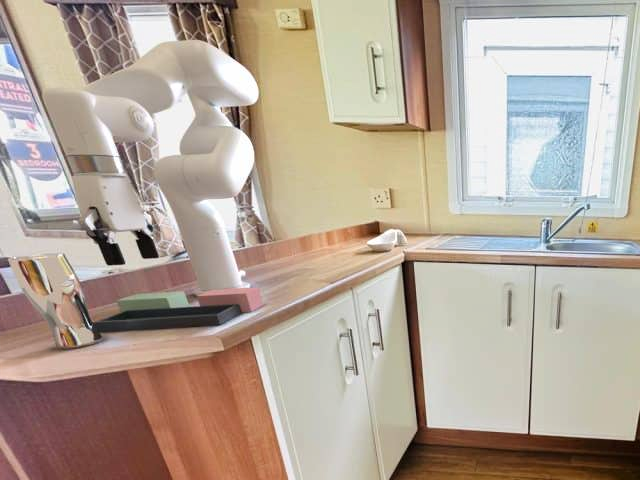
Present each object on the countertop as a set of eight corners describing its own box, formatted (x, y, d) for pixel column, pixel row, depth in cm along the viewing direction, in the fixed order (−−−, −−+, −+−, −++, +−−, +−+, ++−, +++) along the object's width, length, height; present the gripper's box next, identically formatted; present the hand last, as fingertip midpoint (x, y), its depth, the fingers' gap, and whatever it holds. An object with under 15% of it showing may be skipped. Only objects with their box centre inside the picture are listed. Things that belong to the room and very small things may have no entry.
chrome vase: (102, 334, 79) (63, 251, 73) (110, 341, 75) (69, 254, 68) (51, 345, 74) (3, 257, 68) (56, 353, 70) (6, 260, 64)
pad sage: (143, 311, 94) (136, 293, 92) (190, 308, 95) (184, 291, 93) (124, 319, 89) (115, 300, 87) (173, 316, 89) (166, 297, 88)
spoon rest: (389, 252, 167) (386, 233, 164) (362, 252, 170) (359, 234, 166) (414, 244, 188) (412, 227, 185) (390, 245, 190) (387, 228, 187)
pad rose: (218, 307, 95) (212, 289, 93) (263, 304, 96) (258, 287, 94) (203, 314, 90) (196, 296, 88) (251, 311, 90) (245, 293, 89)
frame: (130, 319, 88) (125, 310, 87) (242, 313, 90) (239, 303, 89) (96, 332, 80) (92, 322, 80) (220, 325, 82) (216, 315, 81)
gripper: (112, 171, 87) (145, 257, 94) (33, 165, 71) (79, 269, 78) (150, 170, 88) (180, 255, 95) (80, 164, 72) (122, 267, 79)
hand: (134, 261), depth 86 cm, fingers open, 9 cm apart
